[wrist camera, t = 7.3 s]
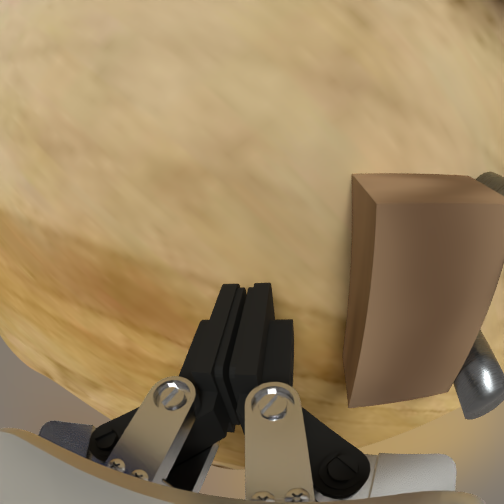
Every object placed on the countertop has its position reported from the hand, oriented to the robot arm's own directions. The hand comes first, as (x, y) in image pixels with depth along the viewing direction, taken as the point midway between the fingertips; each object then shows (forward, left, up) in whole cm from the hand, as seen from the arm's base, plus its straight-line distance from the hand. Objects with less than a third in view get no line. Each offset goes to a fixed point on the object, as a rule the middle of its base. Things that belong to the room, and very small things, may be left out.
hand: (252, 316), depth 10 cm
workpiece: (-6, 0, -2) cm, 7 cm away
